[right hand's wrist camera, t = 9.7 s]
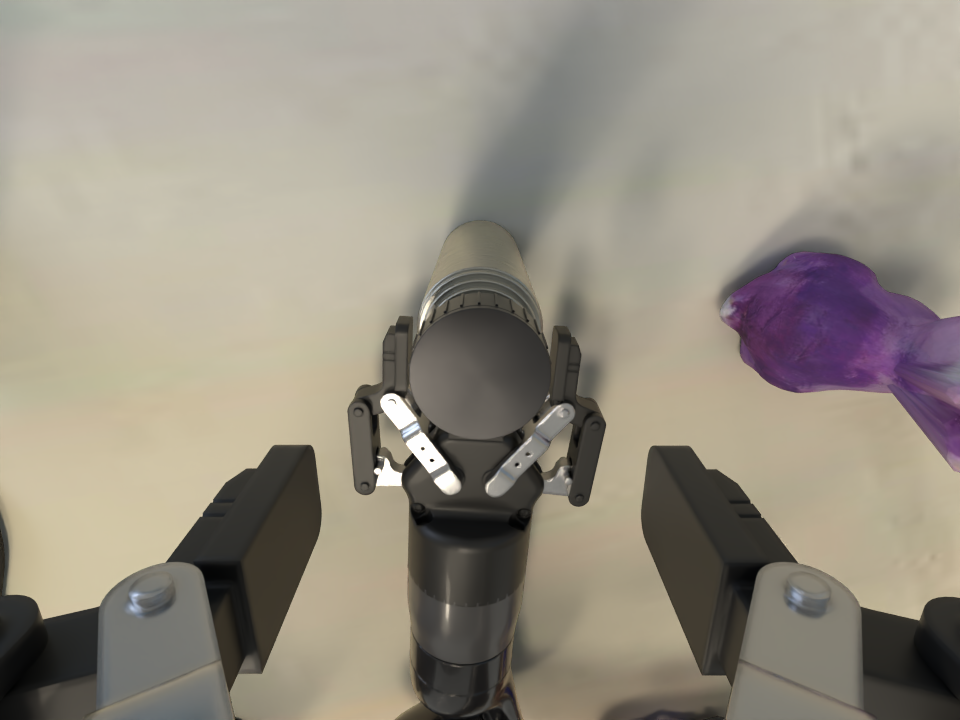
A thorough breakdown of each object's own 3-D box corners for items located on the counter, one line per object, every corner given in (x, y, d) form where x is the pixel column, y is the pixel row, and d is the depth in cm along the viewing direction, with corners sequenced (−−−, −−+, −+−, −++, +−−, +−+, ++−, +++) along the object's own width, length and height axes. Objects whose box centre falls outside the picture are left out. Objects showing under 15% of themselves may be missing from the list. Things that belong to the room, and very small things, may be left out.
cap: (552, 407, 20) (559, 432, 18) (425, 422, 20) (419, 449, 18) (540, 282, 18) (546, 297, 16) (402, 300, 18) (394, 316, 17)
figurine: (913, 315, 36) (1191, 424, 22) (771, 405, 38) (940, 556, 24) (848, 196, 33) (1116, 233, 19) (699, 301, 36) (842, 403, 22)
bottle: (523, 293, 36) (563, 431, 18) (447, 303, 36) (416, 448, 19) (514, 215, 34) (550, 286, 17) (434, 225, 34) (388, 307, 17)
